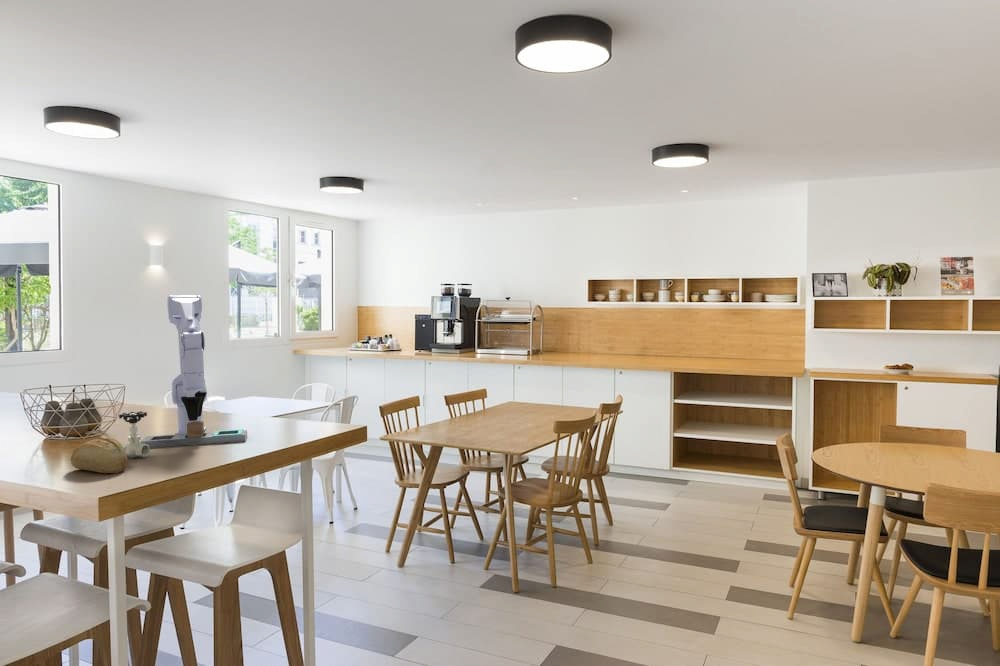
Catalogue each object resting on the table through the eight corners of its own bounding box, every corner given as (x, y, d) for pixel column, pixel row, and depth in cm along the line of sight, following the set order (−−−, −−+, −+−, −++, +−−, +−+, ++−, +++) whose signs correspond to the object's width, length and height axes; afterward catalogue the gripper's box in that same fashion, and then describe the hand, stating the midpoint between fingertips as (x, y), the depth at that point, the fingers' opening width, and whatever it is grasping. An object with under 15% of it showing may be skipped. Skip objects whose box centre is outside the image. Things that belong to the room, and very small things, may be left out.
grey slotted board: (146, 443, 204) (146, 435, 203) (247, 436, 211) (247, 429, 211) (140, 448, 196) (140, 440, 196) (245, 441, 204) (245, 433, 203)
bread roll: (94, 464, 178) (93, 434, 177) (139, 468, 173) (138, 436, 172) (60, 473, 169) (58, 441, 168) (106, 478, 164) (104, 444, 163)
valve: (136, 461, 181) (134, 415, 180) (115, 460, 182) (113, 415, 181) (154, 455, 187) (152, 411, 187) (133, 454, 188) (131, 411, 188)
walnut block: (189, 441, 205) (188, 421, 205) (204, 440, 206) (203, 420, 206) (187, 444, 201) (186, 424, 201) (202, 443, 202) (201, 423, 202)
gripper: (182, 370, 208) (184, 415, 209) (174, 375, 194) (176, 423, 195) (207, 369, 210) (209, 414, 211) (201, 374, 196) (202, 421, 197)
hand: (195, 418), depth 203 cm, fingers open, 7 cm apart
